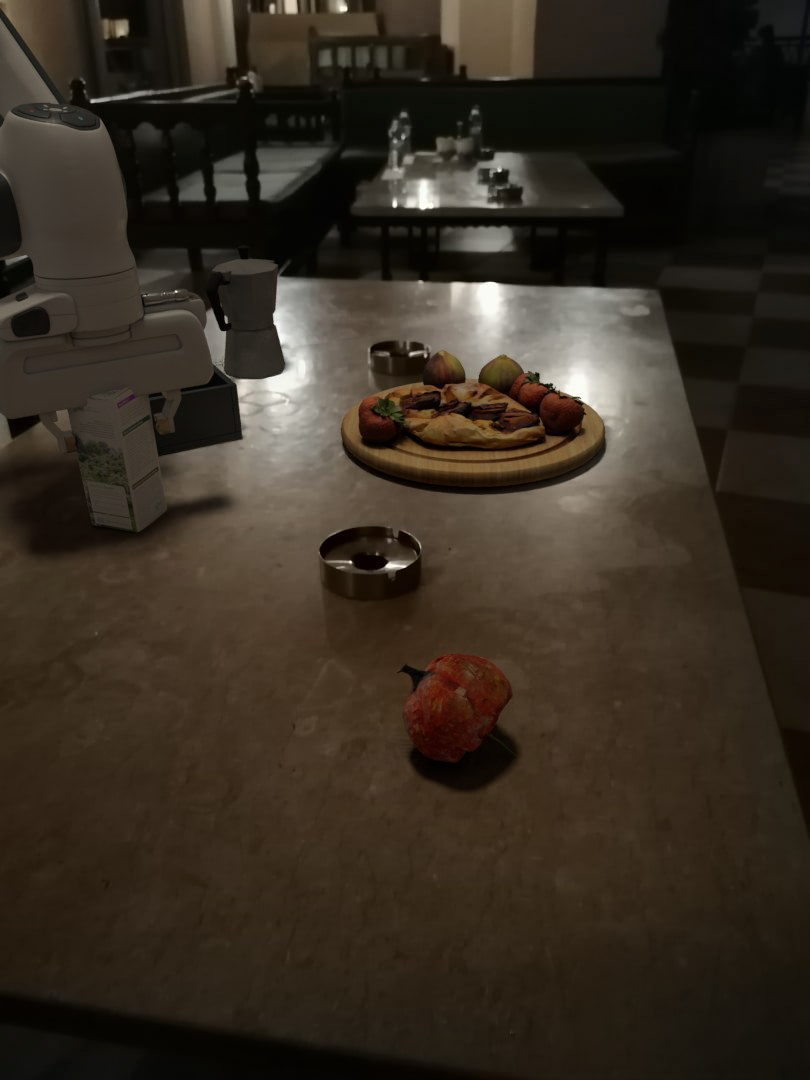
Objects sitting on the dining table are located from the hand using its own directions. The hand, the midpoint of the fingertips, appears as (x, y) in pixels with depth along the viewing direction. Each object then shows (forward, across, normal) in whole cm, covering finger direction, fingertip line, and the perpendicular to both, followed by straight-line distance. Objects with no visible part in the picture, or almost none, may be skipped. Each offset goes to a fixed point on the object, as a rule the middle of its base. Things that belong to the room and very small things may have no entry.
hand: (118, 441), depth 89 cm
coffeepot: (+9, -27, -39) cm, 48 cm away
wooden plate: (+9, -42, -1) cm, 43 cm away
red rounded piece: (+9, -12, +46) cm, 48 cm away
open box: (+8, -11, -21) cm, 25 cm away
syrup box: (+9, 0, 0) cm, 9 cm away
